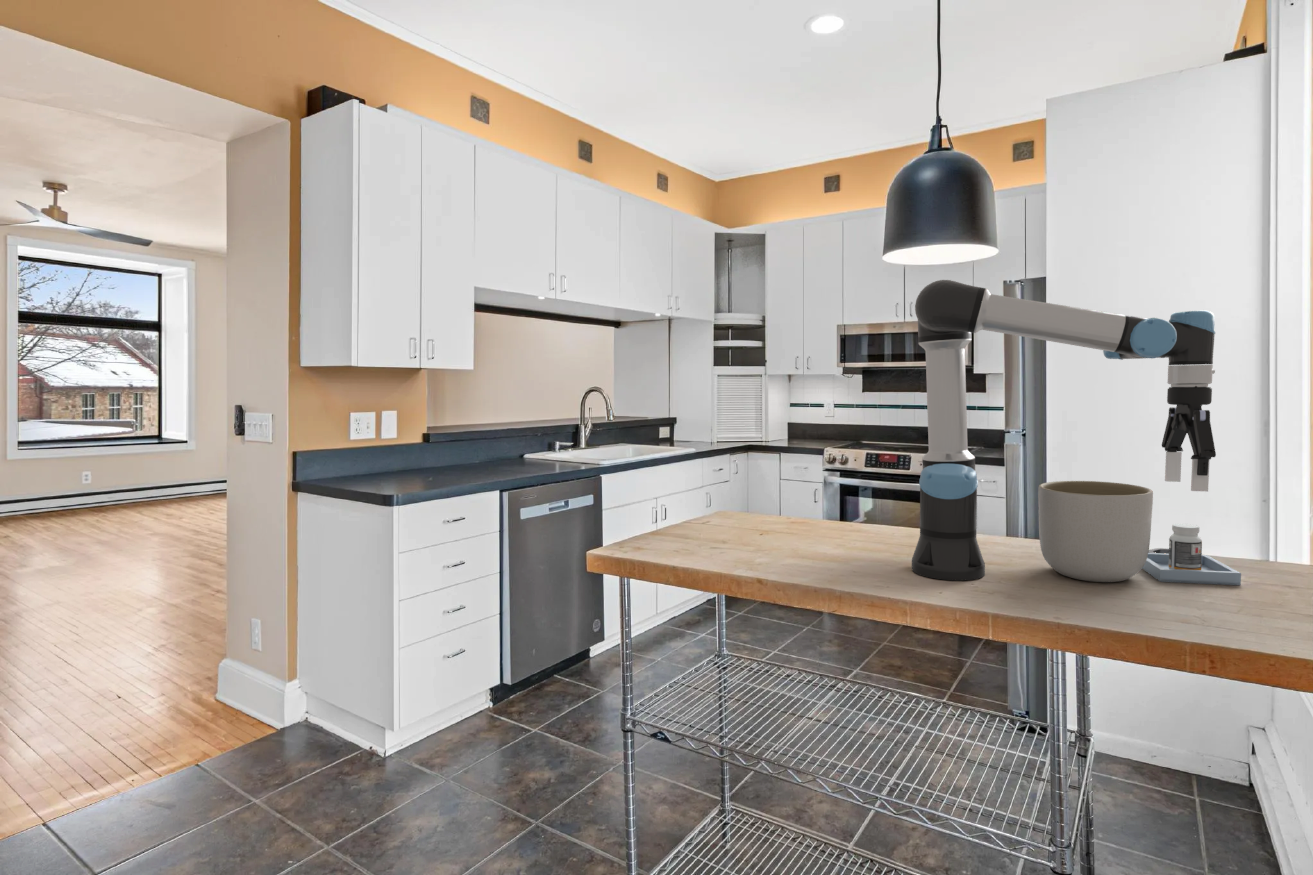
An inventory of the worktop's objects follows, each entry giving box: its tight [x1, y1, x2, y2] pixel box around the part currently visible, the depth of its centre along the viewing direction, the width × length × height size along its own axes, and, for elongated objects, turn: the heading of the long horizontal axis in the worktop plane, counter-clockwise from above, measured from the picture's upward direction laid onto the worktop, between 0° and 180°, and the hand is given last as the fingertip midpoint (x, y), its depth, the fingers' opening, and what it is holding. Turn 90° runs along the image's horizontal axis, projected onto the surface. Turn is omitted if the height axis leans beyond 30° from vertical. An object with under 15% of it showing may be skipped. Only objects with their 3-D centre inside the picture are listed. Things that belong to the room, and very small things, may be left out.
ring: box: [1148, 547, 1169, 554], centre depth 167 cm, size 10×10×1 cm
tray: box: [1141, 553, 1242, 586], centre depth 154 cm, size 14×15×2 cm
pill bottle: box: [1168, 523, 1203, 570], centre depth 154 cm, size 6×6×10 cm
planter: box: [1037, 480, 1154, 583], centre depth 154 cm, size 21×21×19 cm
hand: (1185, 486), depth 153 cm, fingers open, 13 cm apart
